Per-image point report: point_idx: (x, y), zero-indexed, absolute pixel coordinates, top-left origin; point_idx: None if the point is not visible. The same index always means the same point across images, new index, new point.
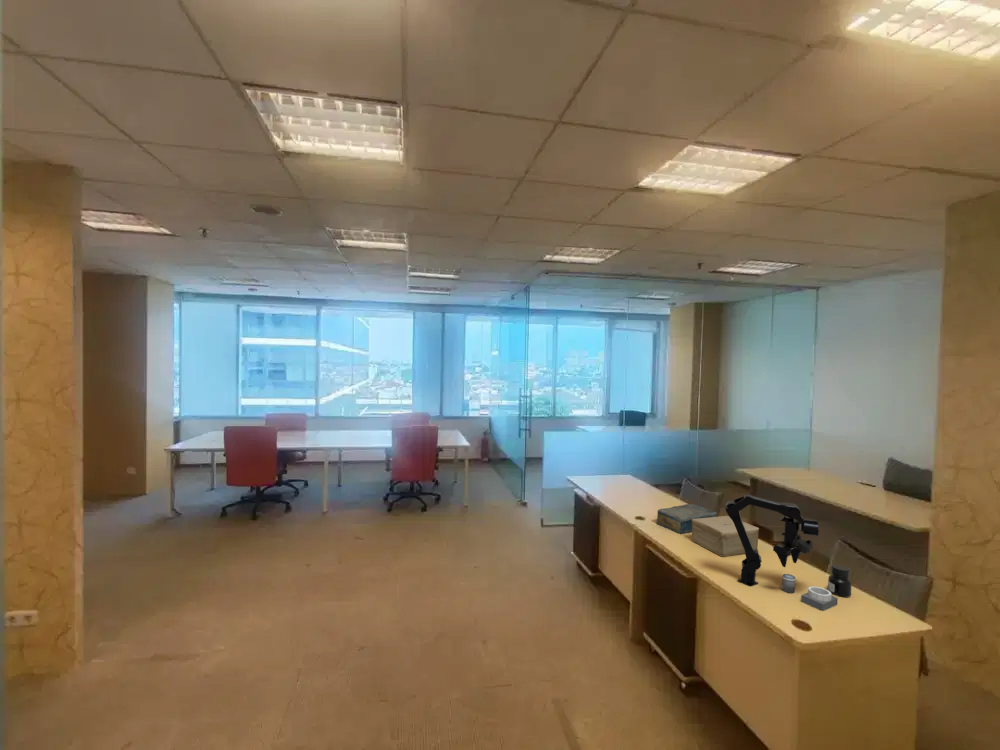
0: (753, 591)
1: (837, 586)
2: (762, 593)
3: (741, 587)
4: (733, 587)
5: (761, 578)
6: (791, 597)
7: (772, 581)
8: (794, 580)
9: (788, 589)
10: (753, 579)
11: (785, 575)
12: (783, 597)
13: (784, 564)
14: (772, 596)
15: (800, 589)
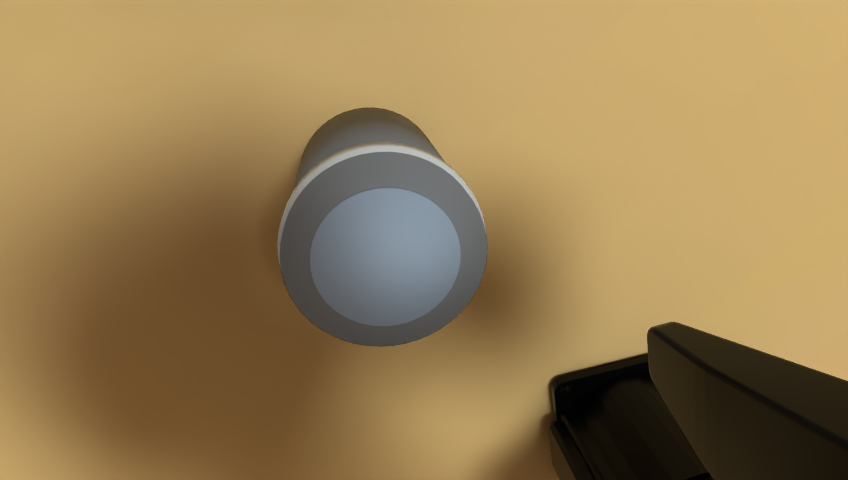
0: (750, 257)
1: None
2: (710, 201)
3: (770, 344)
4: (833, 356)
5: (408, 462)
6: (483, 26)
7: (347, 397)
8: (363, 144)
9: (429, 141)
10: (653, 404)
11: (436, 287)
12: (582, 57)
13: (756, 367)
14: (679, 116)
15: (156, 175)
